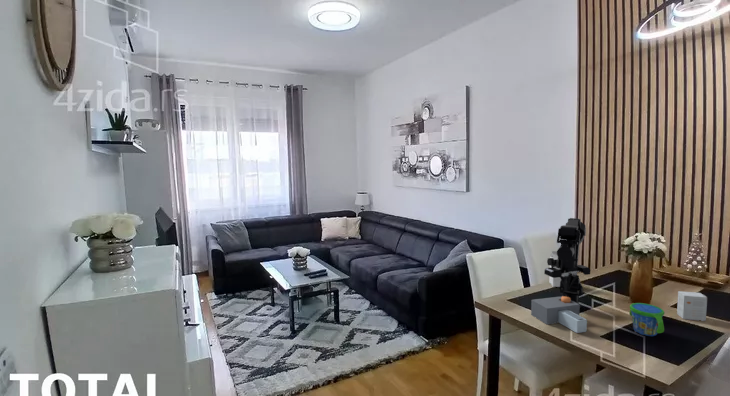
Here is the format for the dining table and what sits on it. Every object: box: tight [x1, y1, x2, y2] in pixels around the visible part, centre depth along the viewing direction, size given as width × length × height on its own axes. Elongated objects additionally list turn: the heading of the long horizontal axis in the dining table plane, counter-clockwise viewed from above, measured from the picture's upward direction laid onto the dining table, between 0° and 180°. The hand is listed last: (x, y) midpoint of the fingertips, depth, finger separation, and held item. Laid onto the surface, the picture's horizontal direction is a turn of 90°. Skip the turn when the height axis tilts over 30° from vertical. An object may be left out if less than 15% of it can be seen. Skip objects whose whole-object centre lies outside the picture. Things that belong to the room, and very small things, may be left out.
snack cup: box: [629, 302, 665, 337], centre depth 144 cm, size 16×10×10 cm
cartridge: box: [558, 309, 588, 334], centre depth 154 cm, size 4×19×5 cm, turn 12°
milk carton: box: [548, 250, 561, 288], centre depth 199 cm, size 7×7×19 cm
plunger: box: [561, 295, 571, 303], centre depth 160 cm, size 4×4×3 cm
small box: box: [676, 290, 708, 322], centre depth 156 cm, size 8×6×10 cm
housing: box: [530, 295, 581, 325], centre depth 159 cm, size 16×10×7 cm, turn 102°
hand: (566, 290), depth 159 cm, fingers closed
